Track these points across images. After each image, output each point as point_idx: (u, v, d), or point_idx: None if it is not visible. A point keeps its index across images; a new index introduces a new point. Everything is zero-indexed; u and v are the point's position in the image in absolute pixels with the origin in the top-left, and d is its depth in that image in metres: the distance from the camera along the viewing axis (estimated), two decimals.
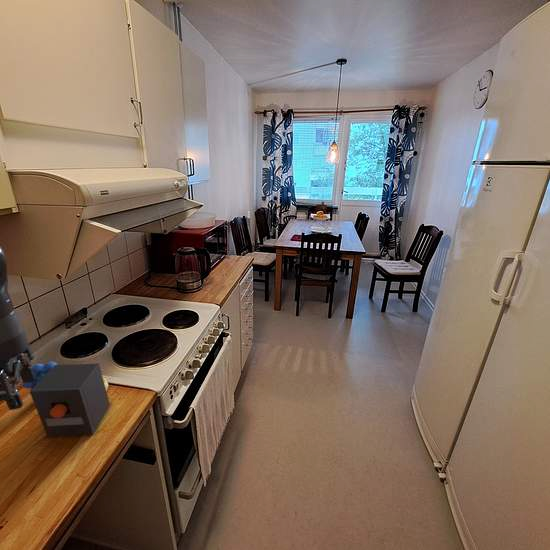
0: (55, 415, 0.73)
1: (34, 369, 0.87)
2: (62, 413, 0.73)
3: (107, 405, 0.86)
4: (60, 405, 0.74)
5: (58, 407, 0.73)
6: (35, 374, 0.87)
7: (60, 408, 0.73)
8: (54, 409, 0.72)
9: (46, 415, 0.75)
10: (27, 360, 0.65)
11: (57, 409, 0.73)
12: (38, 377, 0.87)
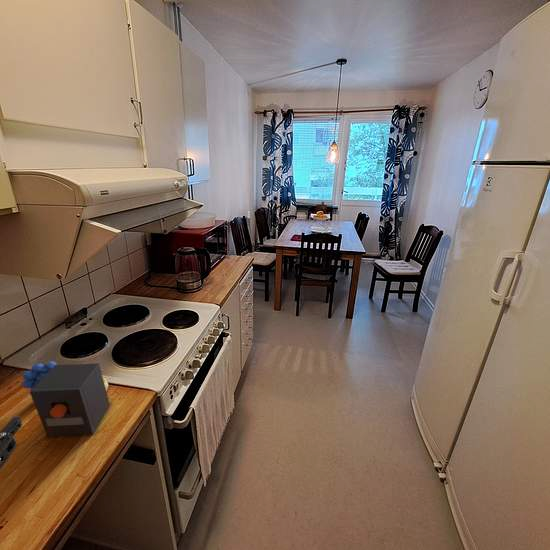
0: (55, 415, 0.73)
1: (34, 369, 0.87)
2: (62, 413, 0.73)
3: (107, 405, 0.86)
4: (60, 405, 0.74)
5: (58, 407, 0.73)
6: (35, 374, 0.87)
7: (60, 408, 0.73)
8: (54, 409, 0.72)
9: (46, 415, 0.75)
10: None
11: (57, 409, 0.73)
12: (38, 377, 0.87)
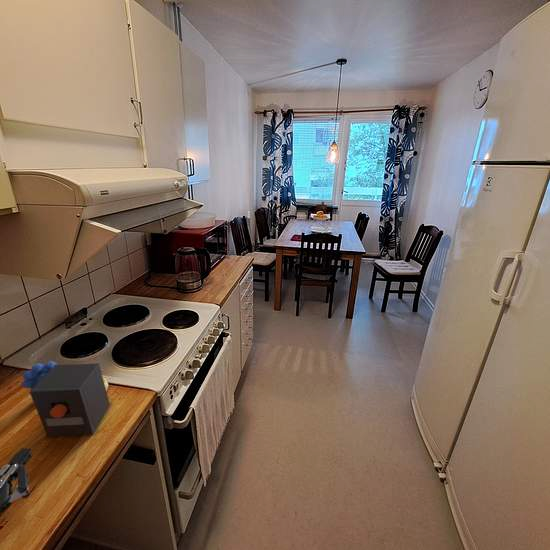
0: (55, 415, 0.73)
1: (34, 369, 0.87)
2: (62, 413, 0.73)
3: (107, 405, 0.86)
4: (60, 405, 0.74)
5: (58, 407, 0.73)
6: (35, 374, 0.87)
7: (60, 408, 0.73)
8: (54, 409, 0.72)
9: (46, 415, 0.75)
10: None
11: (57, 409, 0.73)
12: (38, 377, 0.87)
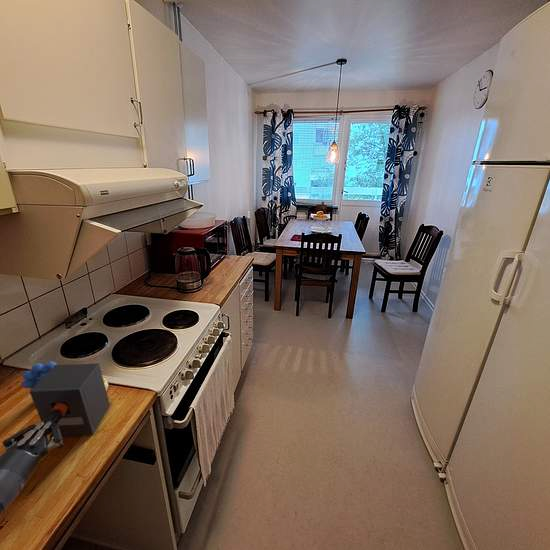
0: None
1: (34, 369, 0.87)
2: (63, 412, 0.73)
3: (107, 405, 0.86)
4: (61, 404, 0.74)
5: (59, 406, 0.73)
6: (35, 374, 0.87)
7: (61, 407, 0.73)
8: (55, 408, 0.73)
9: (46, 415, 0.75)
10: None
11: (58, 408, 0.73)
12: (38, 377, 0.87)
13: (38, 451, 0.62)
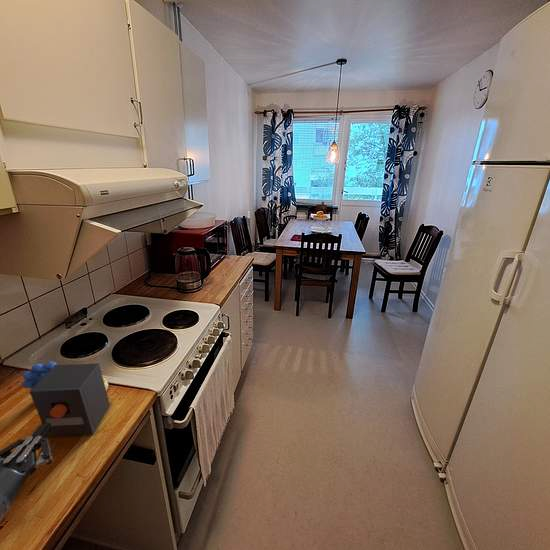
0: (55, 415, 0.73)
1: (34, 369, 0.87)
2: (62, 413, 0.73)
3: (107, 405, 0.86)
4: (60, 405, 0.73)
5: (58, 407, 0.73)
6: (35, 374, 0.87)
7: (60, 408, 0.73)
8: (54, 409, 0.72)
9: (46, 415, 0.75)
10: None
11: (57, 409, 0.73)
12: (38, 377, 0.87)
13: (25, 469, 0.59)
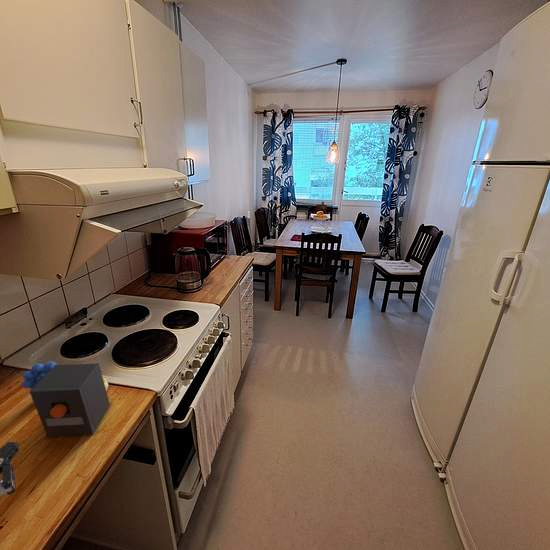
0: (55, 415, 0.73)
1: (34, 369, 0.87)
2: (62, 413, 0.73)
3: (107, 405, 0.86)
4: (60, 405, 0.73)
5: (58, 407, 0.73)
6: (35, 374, 0.87)
7: (60, 408, 0.73)
8: (54, 409, 0.72)
9: (46, 415, 0.75)
10: None
11: (57, 409, 0.73)
12: (38, 377, 0.87)
13: None
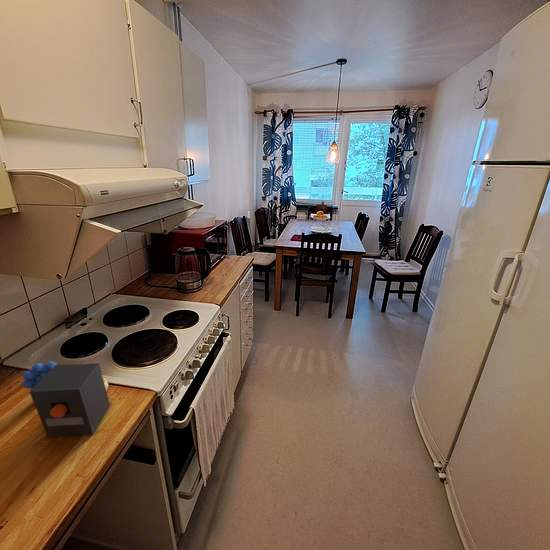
0: (55, 415, 0.73)
1: (34, 369, 0.87)
2: (62, 413, 0.73)
3: (107, 405, 0.86)
4: (60, 405, 0.73)
5: (58, 407, 0.73)
6: (35, 374, 0.87)
7: (60, 408, 0.73)
8: (54, 409, 0.72)
9: (46, 415, 0.75)
10: None
11: (57, 409, 0.73)
12: (38, 377, 0.87)
13: None
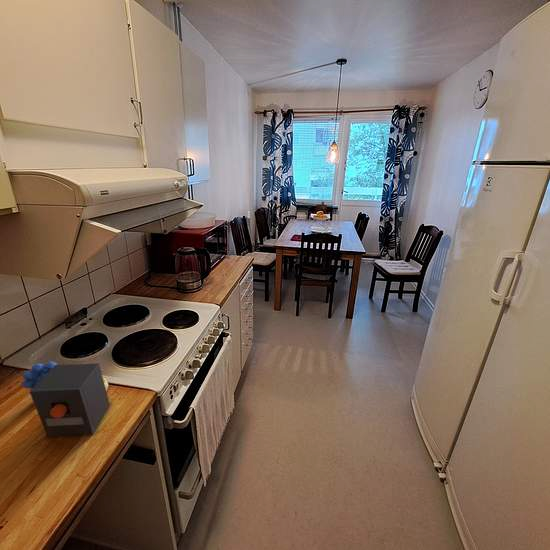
0: (55, 415, 0.73)
1: (34, 369, 0.87)
2: (62, 413, 0.73)
3: (107, 405, 0.86)
4: (60, 405, 0.73)
5: (58, 407, 0.73)
6: (35, 374, 0.87)
7: (60, 408, 0.73)
8: (54, 409, 0.72)
9: (46, 415, 0.75)
10: None
11: (57, 409, 0.73)
12: (38, 377, 0.87)
13: None
